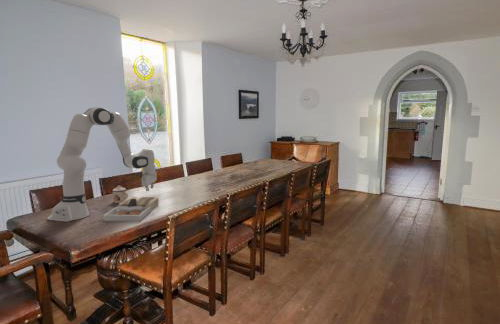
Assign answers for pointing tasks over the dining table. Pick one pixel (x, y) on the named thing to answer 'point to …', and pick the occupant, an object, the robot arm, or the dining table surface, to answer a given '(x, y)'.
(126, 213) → the tile left
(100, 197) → the dining table surface
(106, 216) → the box
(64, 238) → the dining table surface
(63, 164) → the robot arm
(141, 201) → the beige rectangular tray
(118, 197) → the teacup with lid
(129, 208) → the scraper
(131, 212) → the tile right
